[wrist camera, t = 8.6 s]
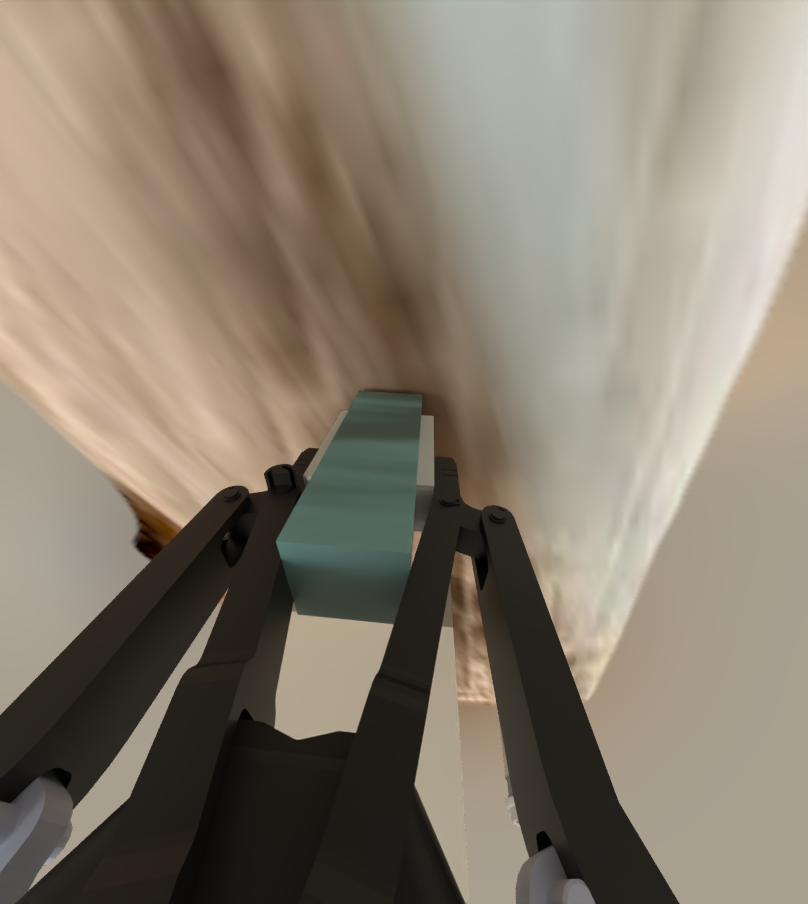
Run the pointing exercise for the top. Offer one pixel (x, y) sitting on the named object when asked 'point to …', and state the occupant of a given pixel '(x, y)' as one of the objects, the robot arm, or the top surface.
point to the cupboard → (343, 699)
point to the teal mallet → (357, 515)
